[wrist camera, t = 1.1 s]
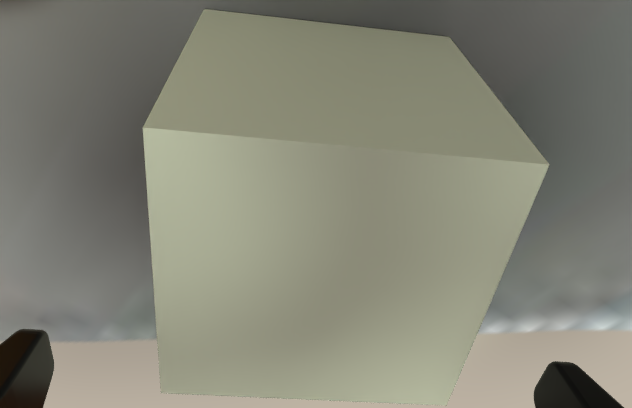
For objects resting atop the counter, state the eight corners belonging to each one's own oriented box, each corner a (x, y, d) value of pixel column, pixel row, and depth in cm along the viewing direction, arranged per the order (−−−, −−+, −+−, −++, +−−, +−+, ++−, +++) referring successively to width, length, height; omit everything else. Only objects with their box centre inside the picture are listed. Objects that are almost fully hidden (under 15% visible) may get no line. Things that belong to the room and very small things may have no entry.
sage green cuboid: (449, 37, 16) (549, 164, 10) (398, 229, 21) (446, 405, 14) (204, 8, 16) (142, 127, 9) (203, 214, 20) (160, 392, 14)
